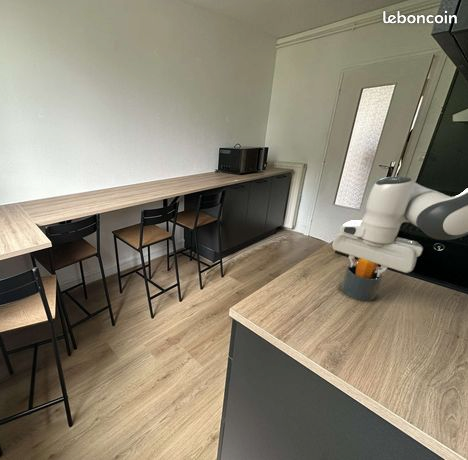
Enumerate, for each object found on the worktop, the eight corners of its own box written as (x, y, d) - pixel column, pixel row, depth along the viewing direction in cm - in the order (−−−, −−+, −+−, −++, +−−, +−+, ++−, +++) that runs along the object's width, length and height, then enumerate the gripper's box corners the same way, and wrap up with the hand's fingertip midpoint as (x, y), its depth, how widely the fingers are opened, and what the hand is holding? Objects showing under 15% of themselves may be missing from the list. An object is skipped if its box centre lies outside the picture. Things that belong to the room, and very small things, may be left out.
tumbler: (378, 293, 82) (386, 272, 79) (368, 304, 78) (376, 283, 74) (347, 281, 89) (353, 261, 86) (336, 291, 84) (342, 270, 81)
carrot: (370, 286, 82) (384, 246, 77) (367, 294, 79) (382, 252, 73) (351, 281, 86) (363, 241, 80) (349, 288, 82) (361, 247, 76)
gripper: (428, 240, 68) (410, 282, 74) (343, 220, 84) (334, 256, 89) (422, 247, 65) (404, 290, 71) (335, 225, 80) (326, 262, 86)
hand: (364, 271), depth 80 cm, fingers closed on carrot, 5 cm apart
